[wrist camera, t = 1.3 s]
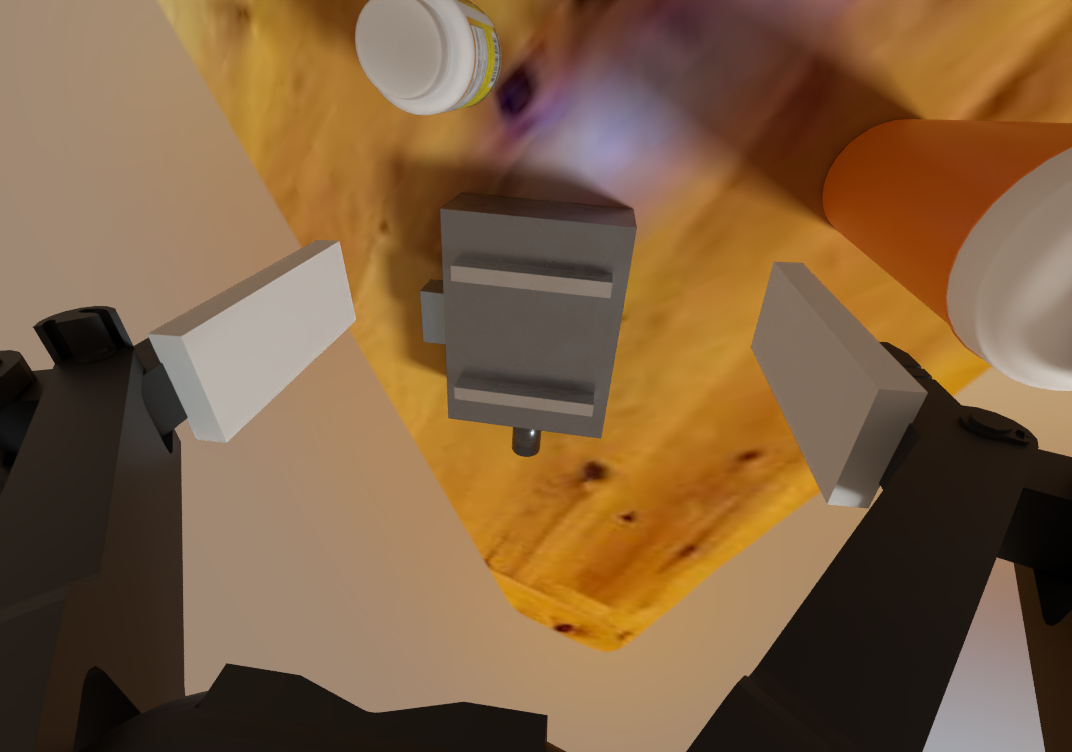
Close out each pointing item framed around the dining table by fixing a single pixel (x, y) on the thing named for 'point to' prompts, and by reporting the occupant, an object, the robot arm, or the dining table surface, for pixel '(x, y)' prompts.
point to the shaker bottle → (970, 231)
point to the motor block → (529, 312)
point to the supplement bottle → (428, 53)
